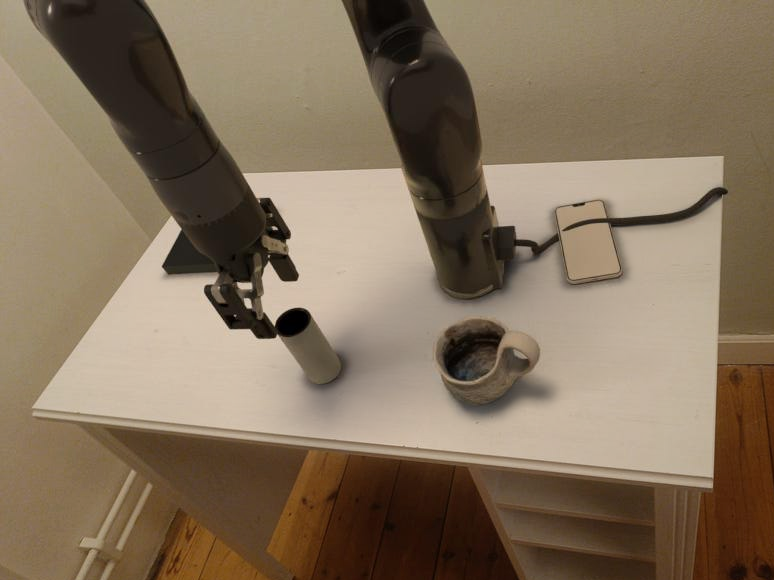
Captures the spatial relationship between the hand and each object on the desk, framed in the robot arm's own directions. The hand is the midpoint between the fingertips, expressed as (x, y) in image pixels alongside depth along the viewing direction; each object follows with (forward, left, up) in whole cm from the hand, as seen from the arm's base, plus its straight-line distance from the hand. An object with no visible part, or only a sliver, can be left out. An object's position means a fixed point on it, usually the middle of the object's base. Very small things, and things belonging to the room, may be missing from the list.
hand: (280, 306), depth 70 cm
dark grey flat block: (+25, -26, -13) cm, 38 cm away
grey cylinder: (0, 0, -13) cm, 13 cm away
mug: (-23, +2, -13) cm, 27 cm away
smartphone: (-34, -21, -13) cm, 42 cm away
